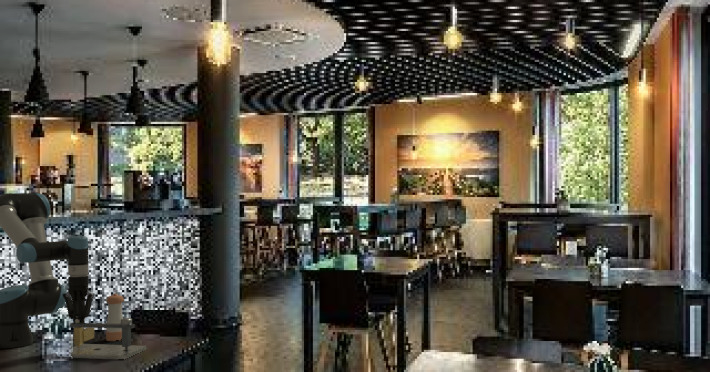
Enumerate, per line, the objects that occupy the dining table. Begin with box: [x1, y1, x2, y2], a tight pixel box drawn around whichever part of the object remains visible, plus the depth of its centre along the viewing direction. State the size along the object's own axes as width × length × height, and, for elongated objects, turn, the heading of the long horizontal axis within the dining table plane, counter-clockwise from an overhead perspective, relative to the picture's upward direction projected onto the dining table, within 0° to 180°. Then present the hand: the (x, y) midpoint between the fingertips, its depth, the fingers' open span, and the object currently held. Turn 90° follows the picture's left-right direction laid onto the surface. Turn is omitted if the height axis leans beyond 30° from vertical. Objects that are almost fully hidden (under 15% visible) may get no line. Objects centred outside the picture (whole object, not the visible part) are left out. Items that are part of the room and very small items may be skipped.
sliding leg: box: [73, 327, 95, 348], centre depth 261 cm, size 3×9×8 cm, turn 169°
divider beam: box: [69, 317, 136, 349], centre depth 256 cm, size 26×4×11 cm, turn 79°
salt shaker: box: [105, 292, 125, 342], centre depth 281 cm, size 7×7×19 cm
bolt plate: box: [71, 343, 148, 361], centre depth 256 cm, size 28×16×2 cm, turn 79°
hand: (79, 335), depth 264 cm, fingers closed
